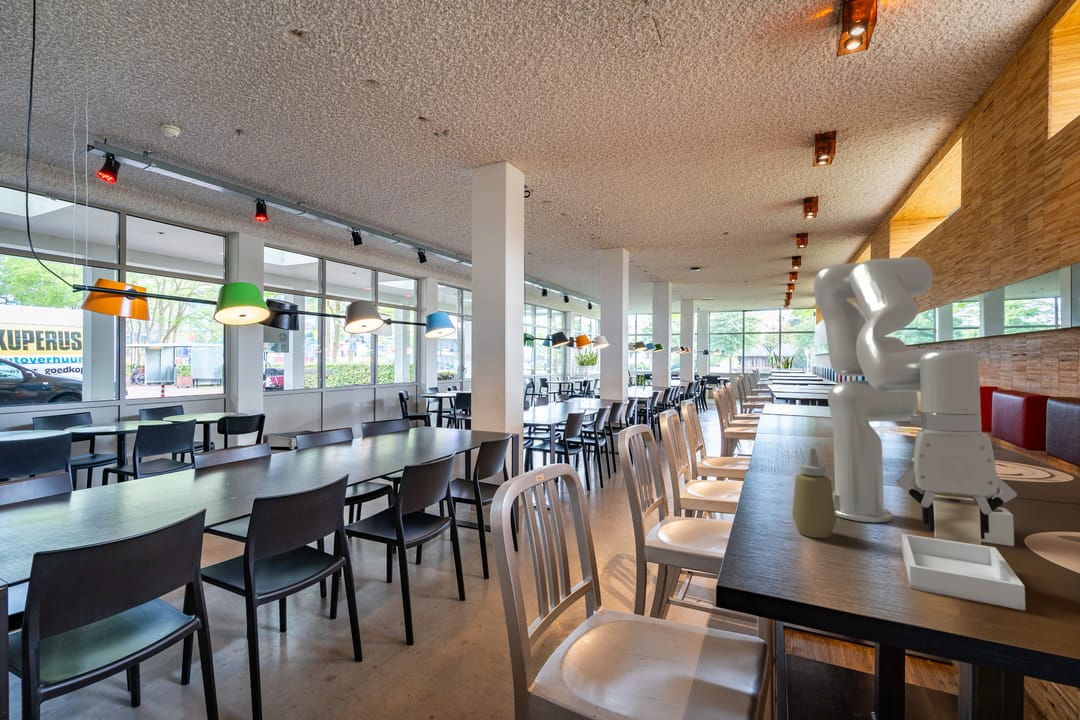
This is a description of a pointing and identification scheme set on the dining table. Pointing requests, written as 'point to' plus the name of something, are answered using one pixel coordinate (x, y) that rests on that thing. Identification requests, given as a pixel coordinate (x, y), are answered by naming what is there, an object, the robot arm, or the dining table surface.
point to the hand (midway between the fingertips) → (954, 531)
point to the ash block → (956, 519)
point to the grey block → (1000, 527)
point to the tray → (961, 571)
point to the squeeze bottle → (813, 499)
